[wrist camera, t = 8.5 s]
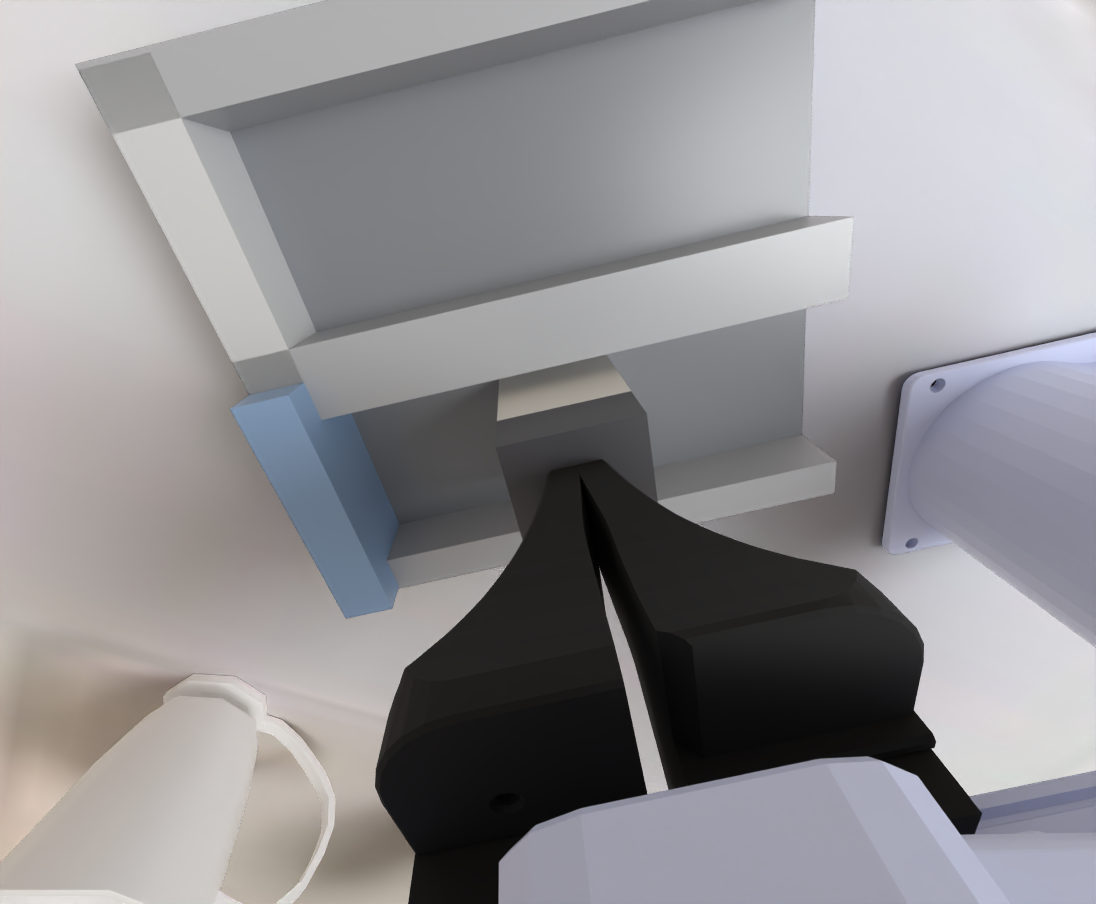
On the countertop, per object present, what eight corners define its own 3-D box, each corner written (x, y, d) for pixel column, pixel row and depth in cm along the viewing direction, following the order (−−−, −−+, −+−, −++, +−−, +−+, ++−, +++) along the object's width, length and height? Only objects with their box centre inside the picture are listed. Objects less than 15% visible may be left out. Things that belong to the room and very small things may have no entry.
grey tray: (794, -78, 12) (921, -206, 8) (786, 458, 18) (853, 518, 15) (163, 82, 12) (19, 27, 9) (380, 548, 19) (351, 627, 15)
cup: (158, 628, 20) (-43, 867, 13) (385, 703, 23) (329, 931, 16) (115, 727, 22) (-74, 976, 15) (327, 783, 25) (254, 1013, 18)
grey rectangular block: (605, 353, 15) (646, 413, 11) (620, 449, 17) (661, 536, 12) (499, 377, 15) (495, 447, 11) (524, 470, 17) (529, 565, 12)
